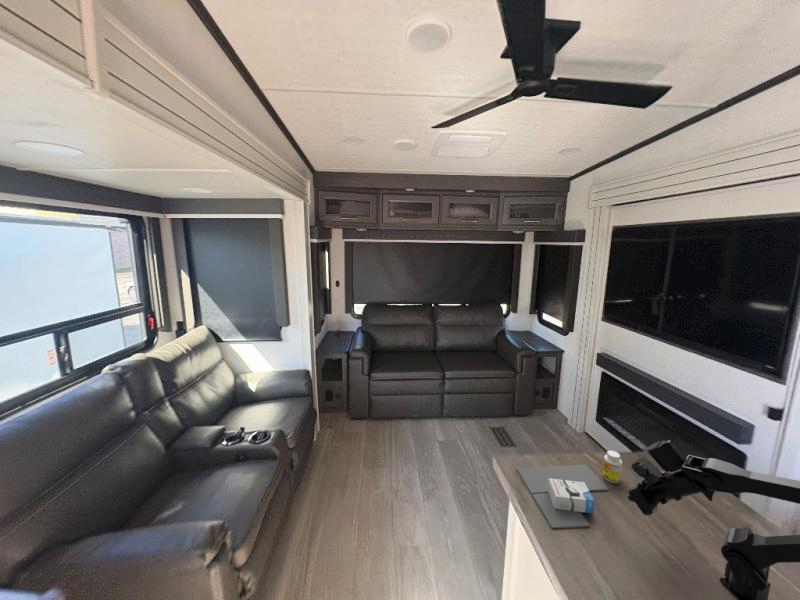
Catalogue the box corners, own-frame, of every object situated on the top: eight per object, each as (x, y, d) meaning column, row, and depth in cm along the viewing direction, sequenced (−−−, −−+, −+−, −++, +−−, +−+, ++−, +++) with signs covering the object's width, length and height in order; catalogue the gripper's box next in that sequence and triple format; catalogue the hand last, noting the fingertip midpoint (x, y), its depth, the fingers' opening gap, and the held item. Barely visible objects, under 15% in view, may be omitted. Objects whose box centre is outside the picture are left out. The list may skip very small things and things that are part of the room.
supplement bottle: (600, 471, 117) (602, 447, 116) (617, 475, 116) (620, 450, 114) (604, 482, 112) (606, 456, 111) (622, 485, 110) (625, 460, 109)
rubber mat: (639, 524, 95) (640, 522, 95) (551, 528, 94) (552, 527, 94) (585, 466, 121) (586, 464, 121) (516, 469, 119) (516, 467, 119)
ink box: (595, 501, 97) (555, 496, 99) (593, 514, 98) (554, 509, 100) (584, 481, 105) (547, 477, 108) (583, 493, 106) (547, 489, 108)
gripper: (666, 446, 93) (623, 462, 103) (639, 463, 84) (594, 479, 94) (699, 485, 87) (650, 499, 97) (674, 509, 77) (622, 521, 87)
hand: (628, 498), depth 94 cm, fingers closed
